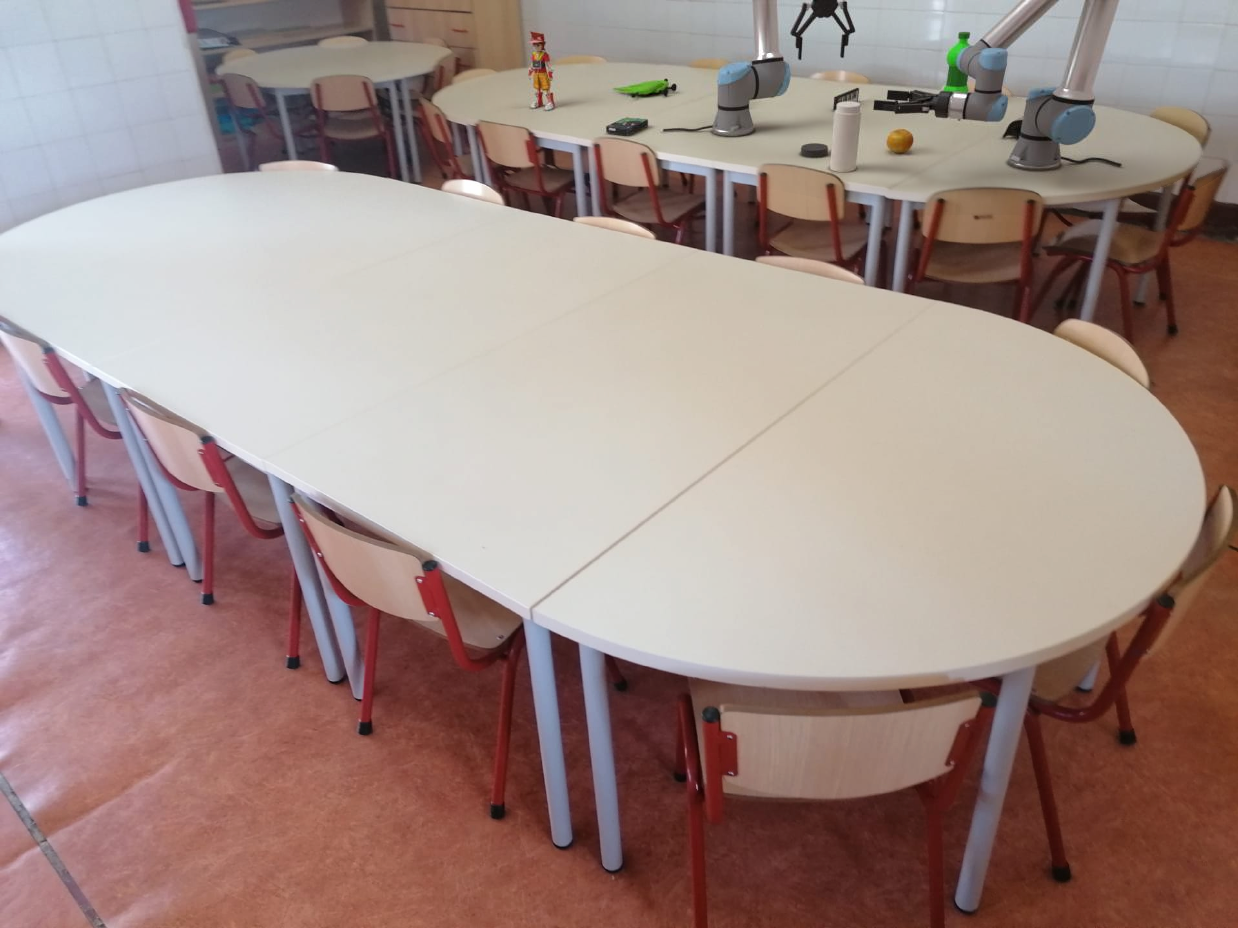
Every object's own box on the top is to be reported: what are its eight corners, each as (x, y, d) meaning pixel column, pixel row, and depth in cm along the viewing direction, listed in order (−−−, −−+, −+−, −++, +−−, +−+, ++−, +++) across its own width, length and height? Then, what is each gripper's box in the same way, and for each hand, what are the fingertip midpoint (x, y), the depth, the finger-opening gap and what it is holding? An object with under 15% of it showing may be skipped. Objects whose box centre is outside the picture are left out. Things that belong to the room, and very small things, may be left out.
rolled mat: (1032, 109, 328) (1056, 91, 320) (1046, 130, 329) (1070, 113, 320) (998, 131, 311) (1023, 113, 303) (1012, 153, 311) (1038, 136, 303)
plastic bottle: (973, 101, 354) (984, 32, 339) (955, 106, 349) (966, 36, 335) (952, 97, 361) (962, 29, 346) (934, 102, 356) (944, 33, 342)
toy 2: (686, 85, 398) (631, 84, 414) (685, 72, 395) (629, 72, 411) (651, 104, 381) (596, 103, 397) (650, 92, 378) (594, 91, 394)
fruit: (881, 143, 301) (896, 121, 298) (883, 146, 309) (897, 125, 306) (901, 157, 300) (917, 135, 297) (903, 159, 308) (918, 138, 305)
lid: (811, 159, 303) (812, 152, 302) (795, 153, 310) (795, 146, 308) (832, 154, 306) (833, 147, 305) (816, 148, 313) (816, 141, 312)
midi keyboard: (835, 110, 353) (837, 97, 350) (833, 110, 354) (834, 97, 351) (858, 101, 363) (859, 88, 361) (855, 101, 364) (856, 88, 361)
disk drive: (628, 136, 338) (648, 126, 348) (628, 129, 337) (648, 118, 347) (605, 134, 343) (625, 123, 353) (605, 126, 341) (625, 116, 351)
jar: (832, 163, 298) (837, 100, 286) (857, 165, 295) (863, 101, 284) (828, 171, 292) (833, 107, 280) (853, 172, 289) (859, 108, 278)
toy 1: (525, 109, 381) (517, 32, 364) (534, 104, 388) (527, 28, 371) (550, 110, 377) (543, 32, 360) (559, 105, 384) (553, 28, 367)
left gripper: (786, -12, 276) (783, 62, 288) (868, -16, 275) (861, 58, 287) (784, -15, 282) (780, 57, 295) (864, -19, 281) (857, 54, 293)
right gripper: (938, 128, 260) (866, 122, 270) (959, 108, 278) (891, 103, 287) (942, 101, 256) (869, 96, 266) (963, 82, 273) (894, 78, 283)
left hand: (820, 58), depth 291 cm, fingers open, 13 cm apart
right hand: (880, 100), depth 276 cm, fingers open, 13 cm apart
